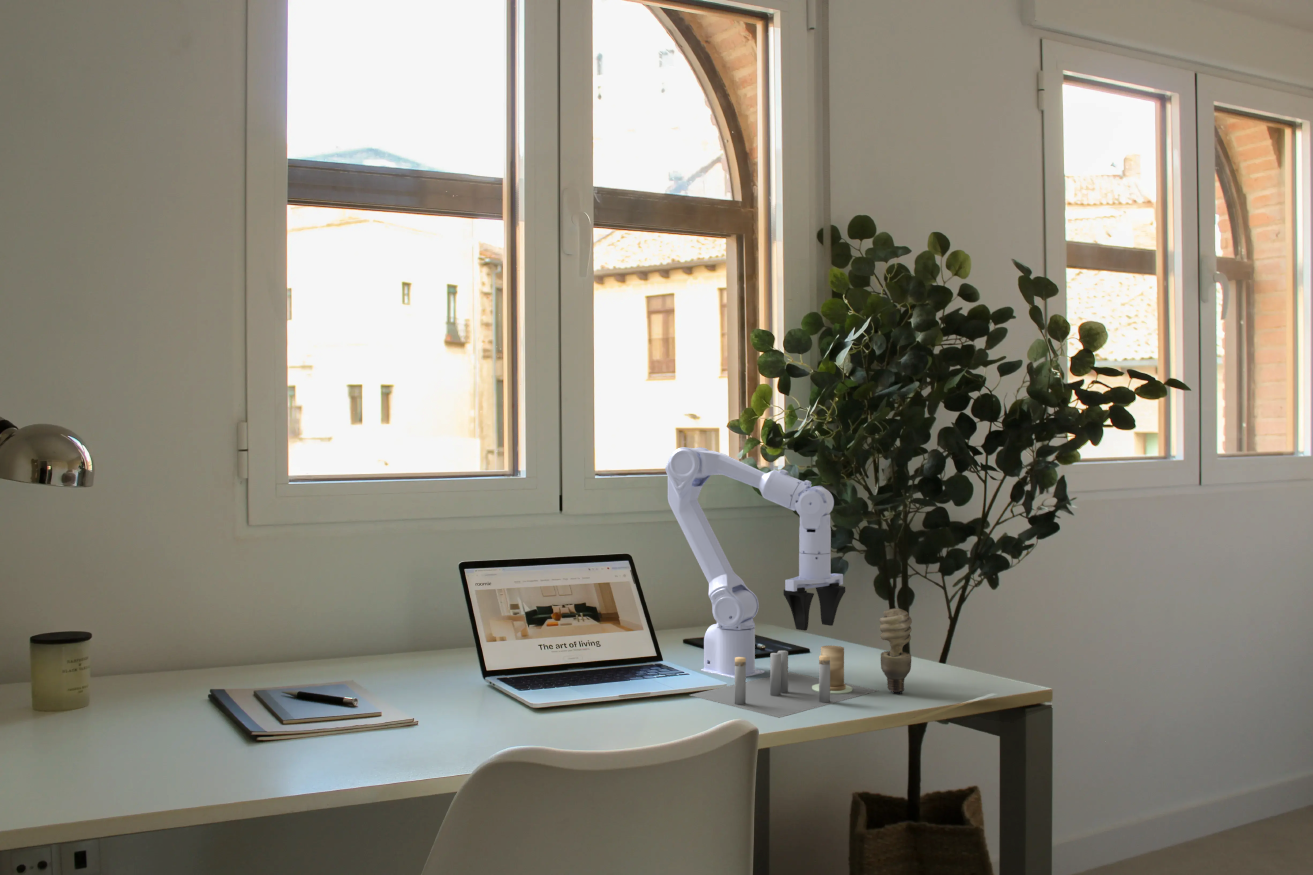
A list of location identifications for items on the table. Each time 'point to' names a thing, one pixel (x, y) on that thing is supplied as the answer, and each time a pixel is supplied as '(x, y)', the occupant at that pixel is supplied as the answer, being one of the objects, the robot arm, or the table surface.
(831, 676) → the cylinder
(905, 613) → the light bulb
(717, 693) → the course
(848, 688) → the pad
